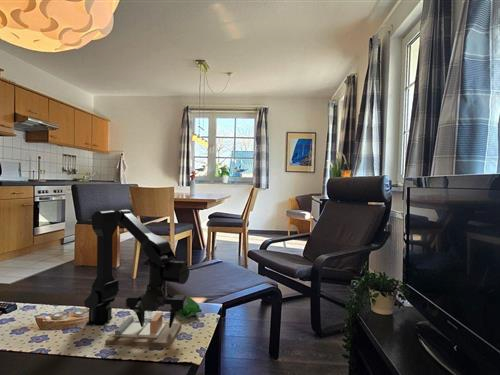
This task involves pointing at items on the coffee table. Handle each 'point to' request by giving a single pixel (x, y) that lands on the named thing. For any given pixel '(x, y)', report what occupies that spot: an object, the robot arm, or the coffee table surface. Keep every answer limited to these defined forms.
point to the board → (147, 338)
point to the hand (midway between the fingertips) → (156, 327)
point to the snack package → (190, 308)
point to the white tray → (129, 328)
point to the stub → (153, 327)
